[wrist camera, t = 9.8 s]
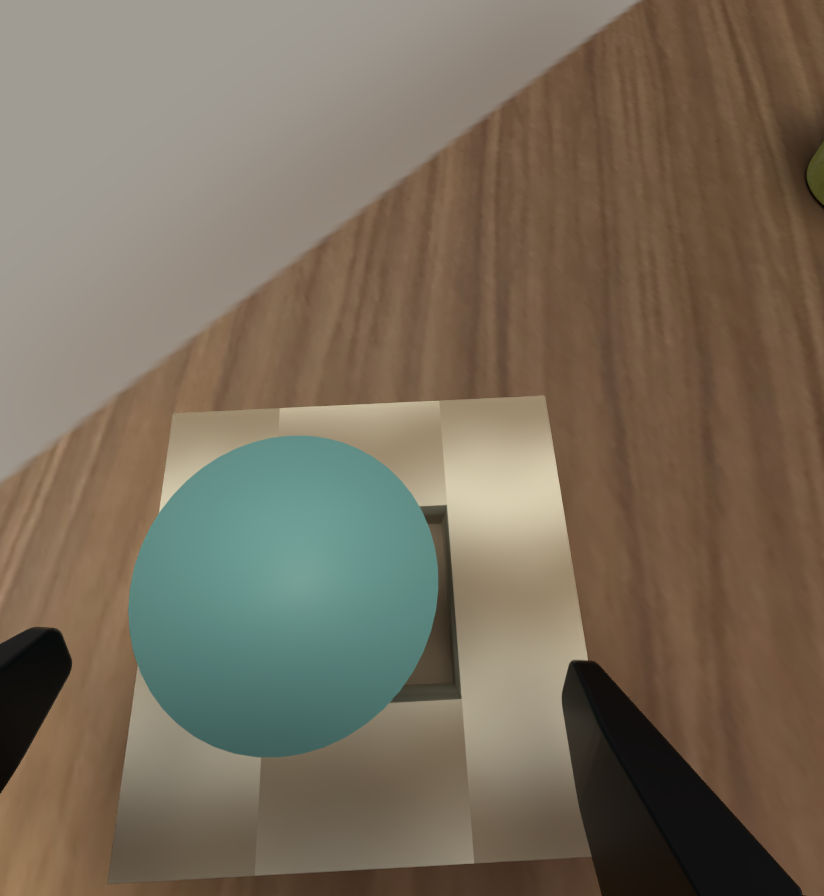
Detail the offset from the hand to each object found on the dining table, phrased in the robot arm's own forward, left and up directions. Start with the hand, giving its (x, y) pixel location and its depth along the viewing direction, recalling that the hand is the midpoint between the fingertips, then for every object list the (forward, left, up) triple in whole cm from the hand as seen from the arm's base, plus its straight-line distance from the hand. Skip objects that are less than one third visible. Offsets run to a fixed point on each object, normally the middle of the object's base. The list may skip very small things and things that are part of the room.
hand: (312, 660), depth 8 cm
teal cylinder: (+1, 0, -10) cm, 10 cm away
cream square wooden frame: (+1, 0, -11) cm, 11 cm away
